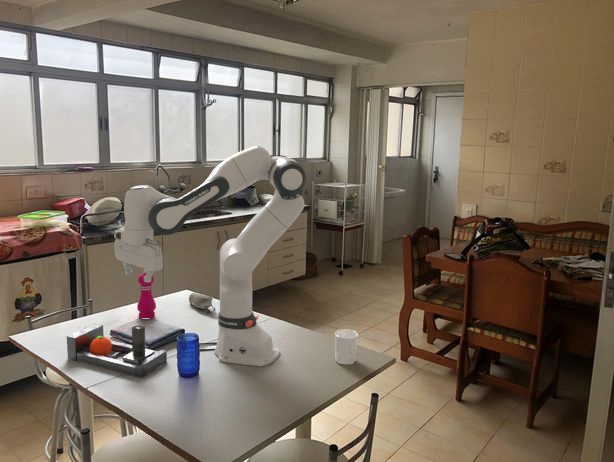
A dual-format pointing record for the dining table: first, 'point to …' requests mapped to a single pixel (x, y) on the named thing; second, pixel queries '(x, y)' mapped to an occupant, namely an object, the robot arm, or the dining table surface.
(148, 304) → the pepper mill
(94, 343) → the clementine
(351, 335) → the white cup
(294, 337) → the dining table surface
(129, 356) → the ram
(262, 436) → the dining table surface
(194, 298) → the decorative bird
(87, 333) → the press
